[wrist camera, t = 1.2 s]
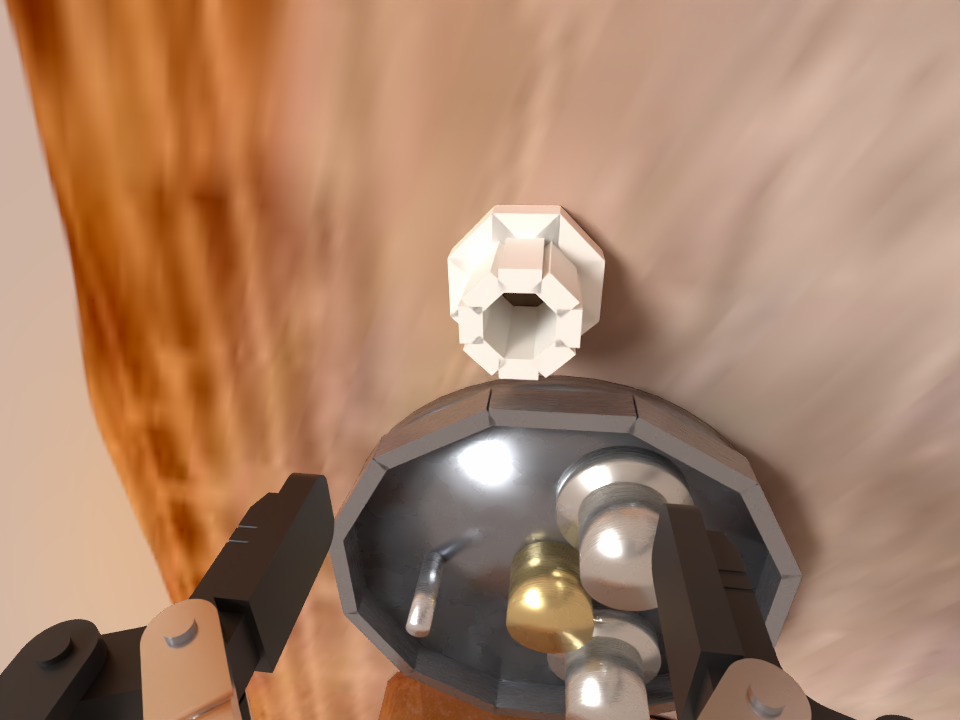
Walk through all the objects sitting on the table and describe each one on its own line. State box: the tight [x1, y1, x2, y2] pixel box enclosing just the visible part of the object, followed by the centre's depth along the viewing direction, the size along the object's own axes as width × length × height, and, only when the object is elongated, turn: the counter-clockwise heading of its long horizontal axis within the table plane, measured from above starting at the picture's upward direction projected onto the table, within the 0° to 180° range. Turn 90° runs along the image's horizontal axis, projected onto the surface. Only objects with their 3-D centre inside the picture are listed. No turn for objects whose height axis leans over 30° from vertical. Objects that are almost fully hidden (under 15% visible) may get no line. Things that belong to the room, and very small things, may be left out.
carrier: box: [329, 376, 802, 720], centre depth 33 cm, size 27×27×7 cm
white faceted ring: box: [448, 205, 605, 380], centre depth 25 cm, size 7×7×6 cm
